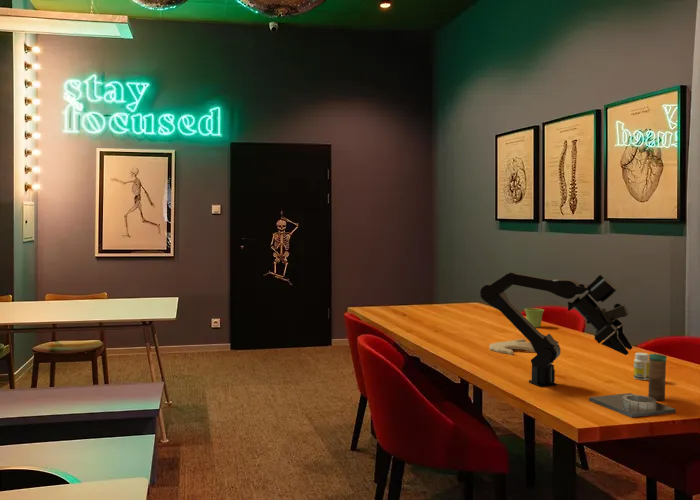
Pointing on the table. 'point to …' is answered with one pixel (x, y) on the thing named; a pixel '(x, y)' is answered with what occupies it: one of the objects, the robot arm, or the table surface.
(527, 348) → the hand model
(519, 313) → the robot arm
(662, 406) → the hub
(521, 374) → the table surface
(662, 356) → the travel tumbler
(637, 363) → the supplement bottle
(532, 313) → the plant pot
